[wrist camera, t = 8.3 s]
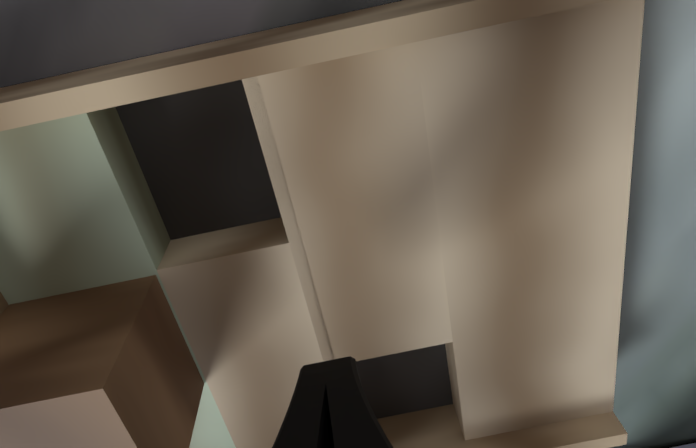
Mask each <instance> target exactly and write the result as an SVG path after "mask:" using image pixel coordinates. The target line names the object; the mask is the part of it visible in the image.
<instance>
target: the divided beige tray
mask: <svg viewBox="0 0 696 448" xmlns="http://www.w3.org/2000/svg"><path fill="white" fill-rule="evenodd" d="M644 3H645V0H403V1H398V2H393V3H389V4H384V5H380V6H375V7H370V8H366V9H361V10H357V11H352V12H347V13H343V14H338V15H334V16H329V17H324V18H320V19H315V20H311V21H306V22H301V23H297V24H292V25H288V26H283V27H278V28H274V29H269V30H265V31H260V32H255V33H251V34H246V35H242V36H237V37H232V38H228V39H223V40H219V41H214V42H209V43H205V44H200V45H196V46H191V47H186V48H182V49H177V50H173V51H168V52H163V53H159V54H154V55H150V56H145V57H140V58H136V59H131V60H127V61H122V62H117V63H113V64H108V65H104V66H99V67H94V68H90V69H85V70H81V71H76V72H71V73H67V74H62V75H58V76H53V77H48V78H44V79H39V80H35V81H30V82H25V83H21V84H16V85H12V86H7V87H2V88H0V315H1V314H2V313H3V312H4V310H5V309H6V308H7V307H8V306H9V305H10V304H15V303H20V302H25V301H30V300H34V299H39V298H44V297H49V296H54V295H59V294H64V293H69V292H74V291H79V290H84V289H89V288H94V287H99V286H103V285H108V284H113V283H118V282H123V281H128V280H133V279H138V278H143V277H148V276H153V275H156V276H157V279H158V281H159V283H160V285H161V288H162V290H163V292H164V294H165V297H166V299H167V301H168V303H169V305H170V308H171V310H172V312H173V314H174V317H175V319H176V321H177V323H178V326H179V328H180V330H181V332H182V335H183V337H184V339H185V341H186V344H187V346H188V348H189V350H190V353H191V355H192V357H193V359H194V362H195V364H196V366H197V368H198V371H199V373H200V375H201V377H202V379H203V382H204V387H203V391H202V395H201V400H200V404H199V408H198V412H197V417H196V421H195V425H194V429H193V434H192V438H191V442H190V446H189V448H272V446H273V444H274V442H275V440H276V437H277V435H278V433H279V430H280V428H281V425H282V423H283V420H284V418H285V415H286V413H287V410H288V407H289V404H290V401H291V399H292V396H293V393H294V390H295V387H296V383H297V380H298V376H299V373H300V369H301V368H302V367H303V365H308V364H313V363H318V362H323V361H328V360H333V359H338V358H344V357H349V356H351V357H353V358H355V360H356V364H357V368H358V372H359V376H360V380H361V384H362V387H363V390H364V392H365V395H366V397H367V399H368V401H369V404H370V406H371V408H372V410H373V412H374V414H375V416H376V418H377V420H378V422H379V424H380V425H381V427H382V429H383V431H384V433H385V434H386V436H387V438H388V439H389V441H390V443H391V444H392V446H393V448H610V447H615V446H621V445H626V444H627V434H628V433H627V432H626V430H625V429H624V427H623V426H622V424H621V423H620V422H619V420H618V419H617V417H616V416H615V414H614V413H613V404H614V391H615V378H616V366H617V353H618V340H619V327H620V314H621V301H622V288H623V275H624V262H625V249H626V236H627V223H628V210H629V197H630V184H631V171H632V158H633V146H634V133H635V120H636V107H637V94H638V81H639V68H640V55H641V42H642V29H643V16H644Z"/></svg>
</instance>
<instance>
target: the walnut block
mask: <svg viewBox="0 0 696 448" xmlns="http://www.w3.org/2000/svg"><path fill="white" fill-rule="evenodd" d="M203 387H204V382H203V379H202V377H201V375H200V373H199V371H198V368H197V366H196V364H195V362H194V359H193V357H192V355H191V353H190V350H189V348H188V346H187V344H186V341H185V339H184V337H183V335H182V332H181V330H180V328H179V326H178V323H177V321H176V319H175V317H174V314H173V312H172V310H171V308H170V305H169V303H168V301H167V299H166V297H165V294H164V292H163V290H162V288H161V285H160V283H159V281H158V279H157V276H156V275H153V276H148V277H143V278H138V279H133V280H128V281H123V282H118V283H113V284H108V285H103V286H99V287H94V288H89V289H84V290H79V291H74V292H69V293H64V294H59V295H54V296H49V297H44V298H39V299H34V300H30V301H25V302H20V303H15V304H10V305H9V306H8V307H7V308H6V309H5V310H4V312H3V313H2V314H1V315H0V448H189V446H190V442H191V438H192V434H193V429H194V425H195V421H196V417H197V412H198V408H199V404H200V400H201V395H202V391H203Z"/></svg>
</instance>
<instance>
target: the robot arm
mask: <svg viewBox="0 0 696 448" xmlns="http://www.w3.org/2000/svg"><path fill="white" fill-rule="evenodd" d="M272 448H393V446H392V444H391V443H390V441H389V439H388V438H387V436H386V434H385V433H384V431H383V429H382V427H381V425H380V424H379V422H378V420H377V418H376V416H375V414H374V412H373V410H372V408H371V406H370V404H369V401H368V399H367V397H366V395H365V392H364V390H363V387H362V384H361V380H360V376H359V372H358V368H357V364H356V360H355V358H353V357H351V356H349V357H344V358H338V359H333V360H328V361H323V362H318V363H313V364H308V365H303V367H302V368H301V369H300V373H299V376H298V380H297V383H296V387H295V390H294V393H293V396H292V399H291V401H290V404H289V407H288V410H287V413H286V415H285V418H284V420H283V423H282V425H281V428H280V430H279V433H278V435H277V437H276V440H275V442H274V444H273V446H272ZM671 448H696V443H692V444H686V445H681V446H676V447H671Z"/></svg>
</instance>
